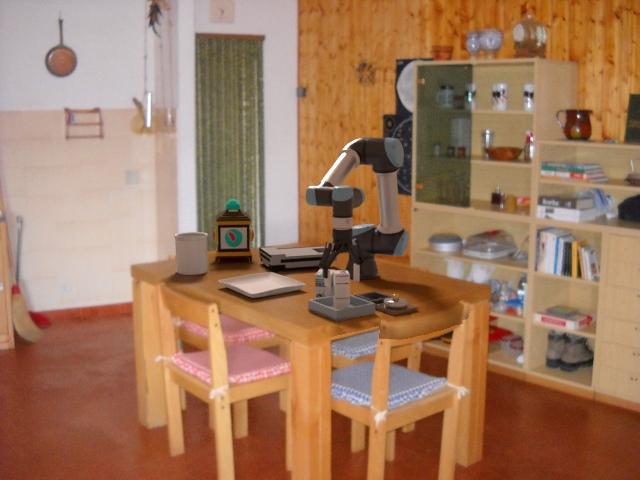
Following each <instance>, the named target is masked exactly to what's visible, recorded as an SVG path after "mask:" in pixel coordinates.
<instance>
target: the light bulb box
mask: <svg viewBox="0 0 640 480" xmlns="http://www.w3.org/2000/svg"><path fill="white" fill-rule="evenodd" d="M329 270H330V287H326V286H324V278H323V269H318V271H317V272H316V273H315V274H314V275H315V276H314V277H315V279H314V280H315V281H314V282H315V289H314V291H315V292H314V293H315V294H314V295H315V297H314V299H316V298H322V297H328V296H333V295H334V282H333V279H334V271H336V269H329Z"/></svg>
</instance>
